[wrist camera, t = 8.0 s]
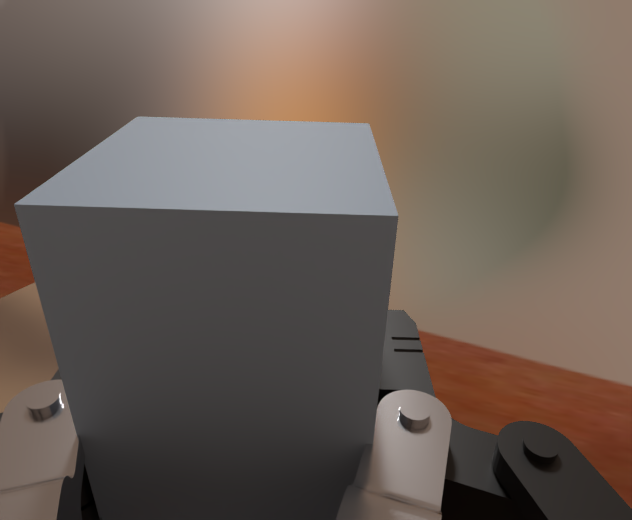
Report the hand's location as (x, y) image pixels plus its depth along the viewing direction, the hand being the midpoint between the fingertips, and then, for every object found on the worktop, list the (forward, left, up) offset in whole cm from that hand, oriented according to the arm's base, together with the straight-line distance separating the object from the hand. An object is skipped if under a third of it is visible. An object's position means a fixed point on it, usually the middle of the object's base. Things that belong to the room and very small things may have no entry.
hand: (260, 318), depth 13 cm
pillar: (-2, -2, -7) cm, 8 cm away
